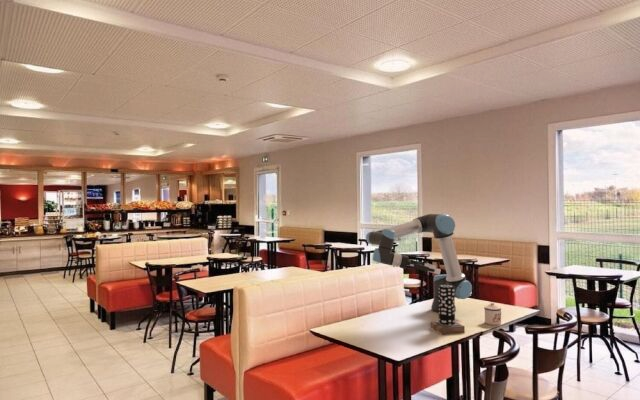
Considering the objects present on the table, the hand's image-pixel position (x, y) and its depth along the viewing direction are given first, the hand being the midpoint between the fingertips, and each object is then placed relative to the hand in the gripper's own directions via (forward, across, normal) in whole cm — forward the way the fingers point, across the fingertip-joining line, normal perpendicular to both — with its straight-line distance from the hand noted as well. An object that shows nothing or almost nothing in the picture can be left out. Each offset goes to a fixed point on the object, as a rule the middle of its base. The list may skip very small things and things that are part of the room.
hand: (437, 270), depth 237 cm
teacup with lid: (+40, -10, -23) cm, 47 cm away
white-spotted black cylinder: (+10, +6, -26) cm, 29 cm away
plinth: (+11, +6, -30) cm, 33 cm away
